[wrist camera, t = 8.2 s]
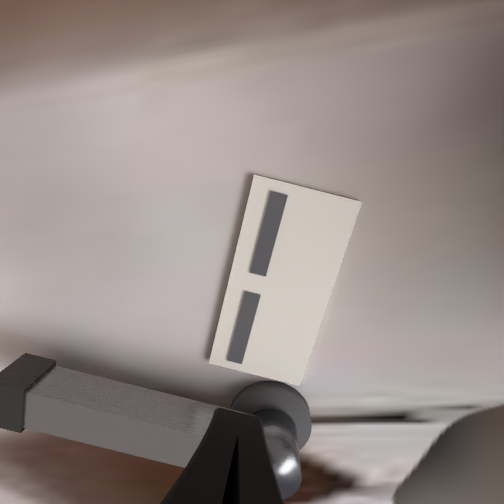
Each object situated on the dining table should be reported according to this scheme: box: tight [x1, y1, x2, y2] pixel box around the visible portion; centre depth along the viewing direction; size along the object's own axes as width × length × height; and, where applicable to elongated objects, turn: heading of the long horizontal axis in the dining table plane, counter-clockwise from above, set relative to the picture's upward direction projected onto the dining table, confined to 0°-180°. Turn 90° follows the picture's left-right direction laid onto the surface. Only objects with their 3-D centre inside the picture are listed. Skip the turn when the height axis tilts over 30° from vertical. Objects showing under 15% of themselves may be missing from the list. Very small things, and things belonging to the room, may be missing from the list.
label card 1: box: [209, 277, 328, 386], centre depth 16 cm, size 5×5×1 cm
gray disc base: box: [231, 381, 311, 450], centre depth 17 cm, size 4×4×1 cm
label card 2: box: [230, 174, 362, 302], centre depth 15 cm, size 5×5×1 cm
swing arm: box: [0, 353, 302, 500], centre depth 15 cm, size 14×3×3 cm, turn 76°
